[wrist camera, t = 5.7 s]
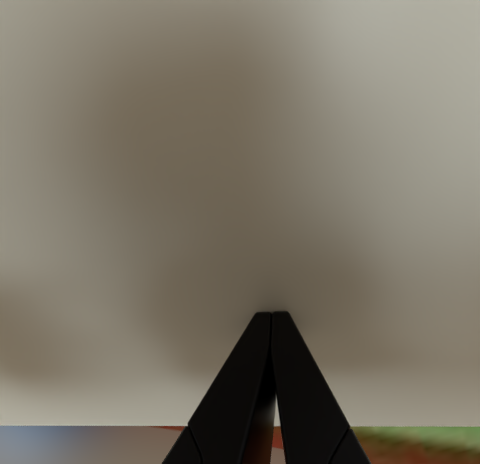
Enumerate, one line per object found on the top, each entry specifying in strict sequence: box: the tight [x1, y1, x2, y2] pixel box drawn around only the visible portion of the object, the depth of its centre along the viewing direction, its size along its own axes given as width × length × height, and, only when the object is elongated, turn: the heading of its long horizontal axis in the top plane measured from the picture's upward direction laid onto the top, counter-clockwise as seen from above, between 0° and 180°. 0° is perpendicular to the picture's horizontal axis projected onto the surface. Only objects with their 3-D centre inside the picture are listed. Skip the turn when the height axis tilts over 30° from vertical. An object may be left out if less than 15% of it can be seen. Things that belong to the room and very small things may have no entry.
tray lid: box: [0, 0, 480, 426], centre depth 8 cm, size 22×14×1 cm, turn 98°
